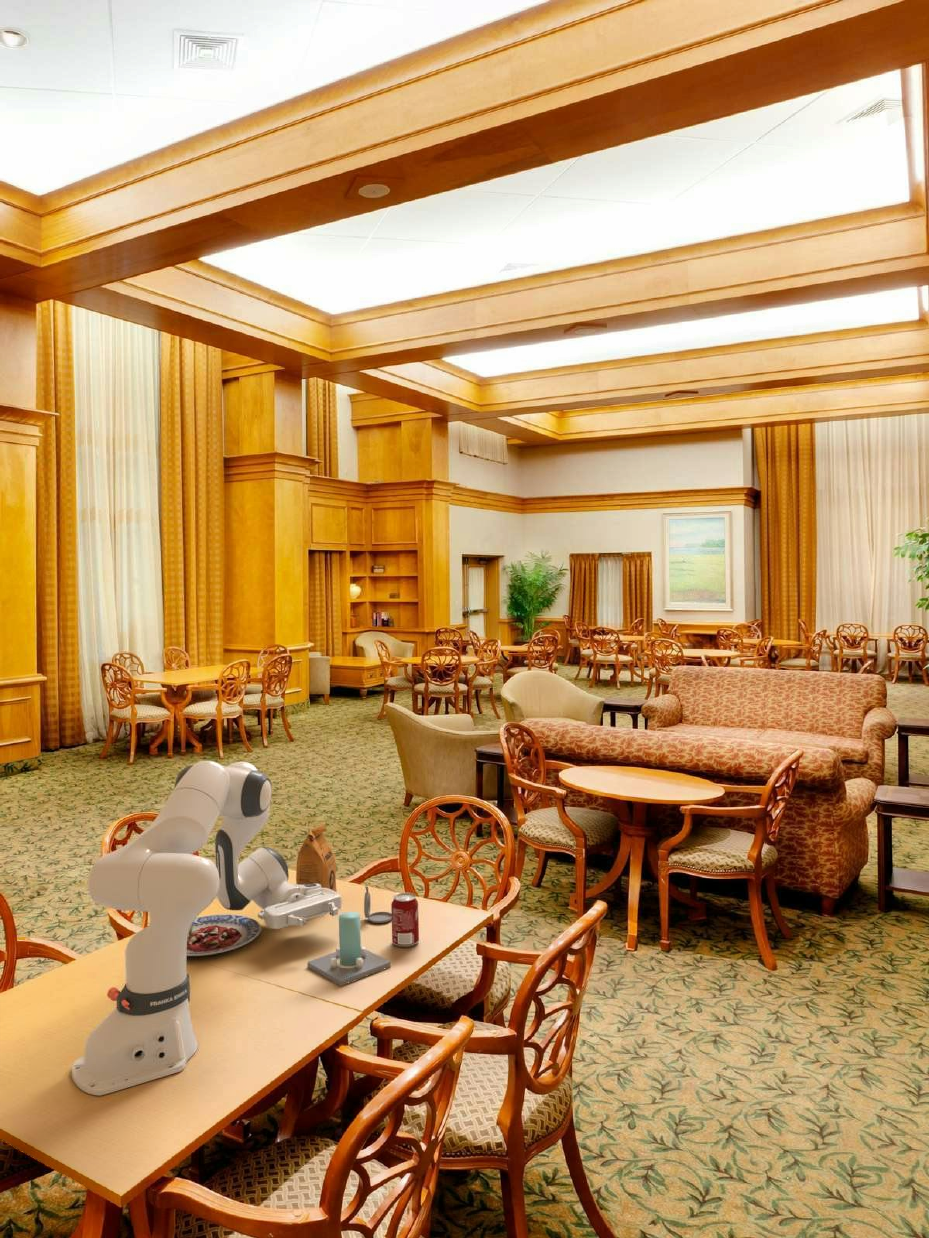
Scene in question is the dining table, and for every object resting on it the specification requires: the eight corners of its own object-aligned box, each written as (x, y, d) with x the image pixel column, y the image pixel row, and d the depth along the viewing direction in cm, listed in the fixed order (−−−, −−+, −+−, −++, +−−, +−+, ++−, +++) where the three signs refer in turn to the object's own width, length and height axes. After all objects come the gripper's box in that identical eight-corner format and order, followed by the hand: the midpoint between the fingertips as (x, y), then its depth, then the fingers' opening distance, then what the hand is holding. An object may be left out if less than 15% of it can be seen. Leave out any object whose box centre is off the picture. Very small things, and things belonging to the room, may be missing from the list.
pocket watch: (397, 920, 227) (396, 883, 227) (369, 928, 222) (368, 890, 222) (382, 911, 234) (381, 876, 233) (355, 918, 229) (354, 882, 229)
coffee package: (342, 898, 245) (340, 823, 244) (324, 914, 233) (322, 835, 232) (311, 895, 247) (309, 821, 247) (291, 911, 235) (289, 833, 235)
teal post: (347, 968, 195) (346, 921, 195) (335, 961, 199) (334, 915, 199) (365, 961, 199) (364, 915, 198) (353, 955, 202) (351, 910, 202)
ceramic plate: (282, 933, 221) (281, 921, 220) (206, 971, 198) (206, 959, 198) (212, 915, 234) (212, 905, 234) (134, 950, 211) (134, 938, 211)
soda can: (415, 949, 208) (414, 901, 208) (388, 947, 209) (387, 900, 209) (421, 938, 215) (420, 892, 214) (396, 936, 216) (395, 890, 216)
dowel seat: (341, 986, 189) (340, 972, 189) (307, 966, 199) (307, 953, 199) (390, 966, 199) (390, 953, 198) (356, 949, 209) (355, 936, 209)
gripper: (254, 901, 211) (282, 916, 200) (323, 881, 224) (353, 894, 214) (254, 926, 211) (283, 942, 201) (323, 904, 225) (353, 918, 214)
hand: (320, 917), depth 208 cm, fingers open, 8 cm apart
